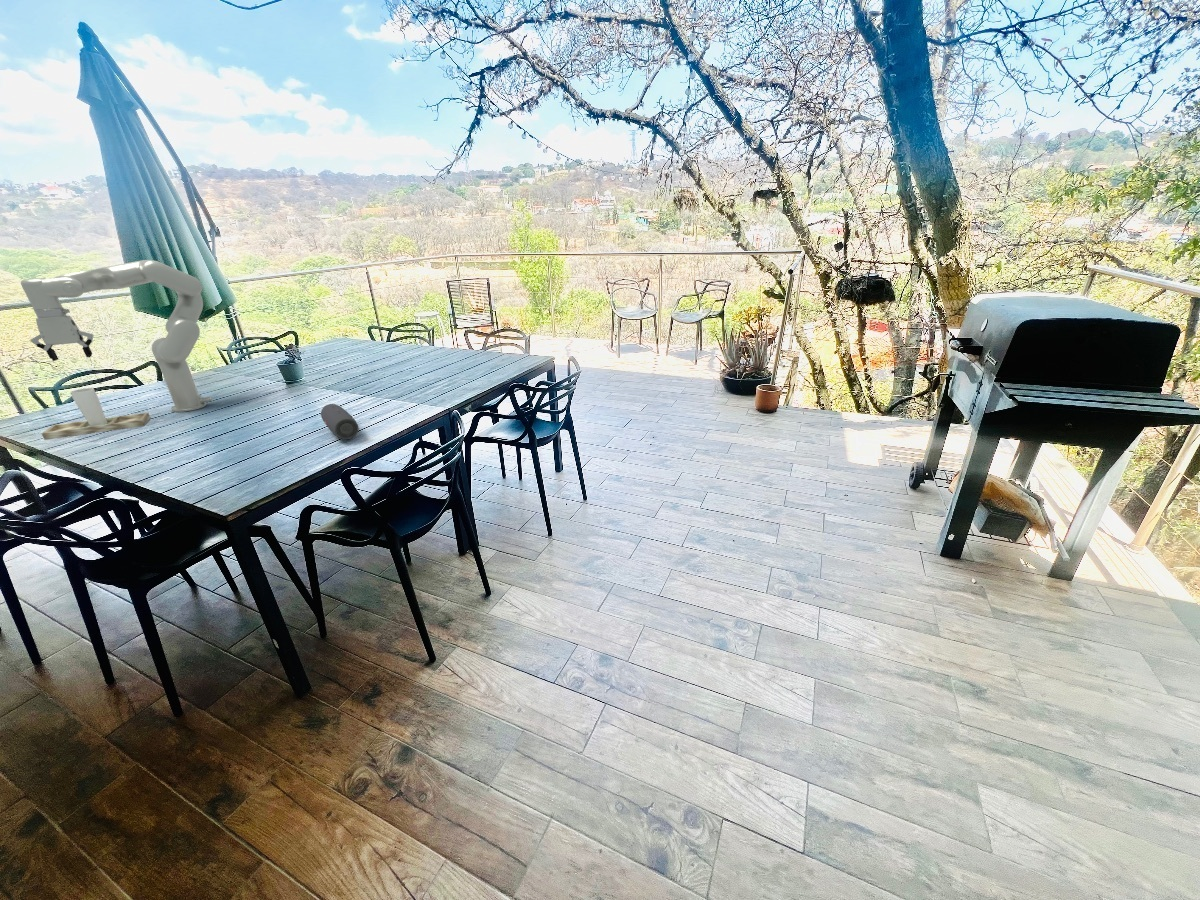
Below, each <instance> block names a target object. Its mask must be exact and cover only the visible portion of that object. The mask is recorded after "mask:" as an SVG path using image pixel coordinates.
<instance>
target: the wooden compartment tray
mask: <svg viewBox="0 0 1200 900" xmlns="http://www.w3.org/2000/svg"><path fill="white" fill-rule="evenodd" d="M105 418H106V420H107V422H108V423H107V424H105V425H97V426H89V424H88V422H87V420H82V421H73V422H66V423H59V424H58V423H56V424H53V425H51V426H50V427H48V428H47V429H46V430H45V431H43V432H42V433H41V436H42V438H43V440H53V439H59V438H65V437H67V438H68V437H73V436H79V435H80V434H81V435H88V434H95V432H96V433H102V432H109V431H118V430H125V429H132V428H137V427H144V426H145V425H146V424H147V423H148V422H149V420H150V419H151V415H150V413H149V412H142V413H135V414H127V415H119V416H111V417H105Z"/></svg>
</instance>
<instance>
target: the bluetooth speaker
mask: <svg viewBox="0 0 1200 900" xmlns="http://www.w3.org/2000/svg"><path fill="white" fill-rule="evenodd" d="M320 417H321V419H322V421H323V423H324V424H325V425H326V427H327V428H328V429H329V431H331V433H333V434H334V435H335V436H336V437H338V438H340V439H342V440H351V439H352V438H355V437H356V436H357V434H358V433H359V430H360V428H359V424H358V422H357V420H355V418H354V417H353V416H352V415H351V414H350V413H349V412H348V411H347V410H346V409H345V408H344V407H342V406H340V405H338V404H337V403H328V404H326V405H324V406H323V408H322V409H321V410H320Z"/></svg>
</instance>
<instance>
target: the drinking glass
mask: <svg viewBox="0 0 1200 900" xmlns="http://www.w3.org/2000/svg"><path fill="white" fill-rule="evenodd" d="M69 394H70V395H71V397H72V400H73V401H74V403H75V404H76V406H77V408H78V410H80V413H81V414H82V416H83V418H84V419H85V421H87V422H88V424H89V426H97V425H105V424H107V423H108V422H107V420H106V418H107V417H106V415H105V413H104V410H103V407H102V404H101V401H100V399H99V396H98V394H97V392H96V390H95V389H94V388H93V387H86V388H85V387H84V388H79V389H75V390H72V391H71V392H70V393H69Z"/></svg>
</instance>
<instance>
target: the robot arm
mask: <svg viewBox="0 0 1200 900" xmlns="http://www.w3.org/2000/svg"><path fill="white" fill-rule="evenodd" d="M201 282H202V281H200V280H199V279H198V278H197V277H196V276H194V275H190V274H188V273H186V272H184V271H182V270H179V269H177V268H175V267H172V266H169V265H167V264H165V263H162V262H160V261H158V260H153V259H142V260H136V261H132V262H131V261H130V262H126V263H121V264H115V265H108V266H103V267H99V268H94V269H89V270H83V271H82V270H81V271H79V272H77V271H76V272H72V273H67V274H60V275H57V276H55V277H53V278H43V277H42V278H39V277H38V278H26V279H25V278H24V279H22V280H21V281H20V285H21V288H22V290H23V292H24V293H25V295H26V297H27V299H28V301H29V303H30V305H31V307H32V309H33V312H34V313H35V315H36V318H35V322H36V325H37V329H38V331H39V332H38V333H39V334H38V335H36V336H35V337H33V338H31V339H30V342H31V343H32V344H33V345H35V346H36V347H38V348H40V349H42V350H44V351H46V353H47V355H48V357H49V359H51V361H53V362H57V360H59V357H58V355H57V353H56V351H55V349H54V348H53V346H59V345H70V344H79V345H81V346H82V350H83V352H84V355H85V357H86V358H91V357H93V356H92V355H93V352H92V350H91V348H90V345H91V344H92V343H93V338H94V334H93V333H89V332H87V331H82V330H81V329H80V328H79V327H78V325H77V323H76V322H75V321H74V319H73V318H72V316H71V315H67V314H69V313H71V311H70V309H69V308H65V307H63V305H62V303H61V301H60V299H59V298H65V299H67V298H68V299H69V298H70V299H75V298H78V297H80V296H82V295H83V294H85V293H90V292H95V291H102V290H103V291H104V290H120V289H125V288H130V287H131V288H132V287H134V286H135V287H136V286H140V285H145V284H149V283H157V284H158V285H161V286H163V287H165V288H168V289H170V290H173V291H174V292H175V293H176V295H177V302H176V304H175V306H174V309H173V311H172V312H171V314H170V316H169V318H168V319H167V321H166V322H165V329H166V331H167V335H166V336H165V337H160V338H157V339H155V340H154V341H153V343H152V344H151V351H152V354H153V356H154V359H155V361H156V362H157V365H158V367H159V368H160V372H161V373H162V377H163V380H164V382H165V384H166V386H167V389H168V392H169V393H170V394H169V395H170V396H171V397H170V398H171V400H172V402H173V406H172V407H171V408H170V409H171V411H172V412H176V413H181V412H183V413H184V412H191V411H196V410H198V409H203V408H205V407H206V406H207V403H209V402H213V397H212V396H206V397H204V396H202V394H199V392H198V390H197V389H198V388H197V386H196V383H195V380H194V377H193V375H192V372H191V369H190V367H189V365H188V362H187V358H188V357H189V356H190V354H191V352H192V350H193V349H194V346H195V345H196V343H197V342H198V339H199V337H200V333H201V331H200V327H199V325H198V320H199V319H200V317H201V314H202V312H203V308H204V301H203V296H202V294H201V293H202V292H203V284H202V283H201ZM84 337H87V339H86V340H84V339H85V338H84ZM39 340H42V341H43V342H44V343H41V342H40V341H39Z"/></svg>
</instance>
